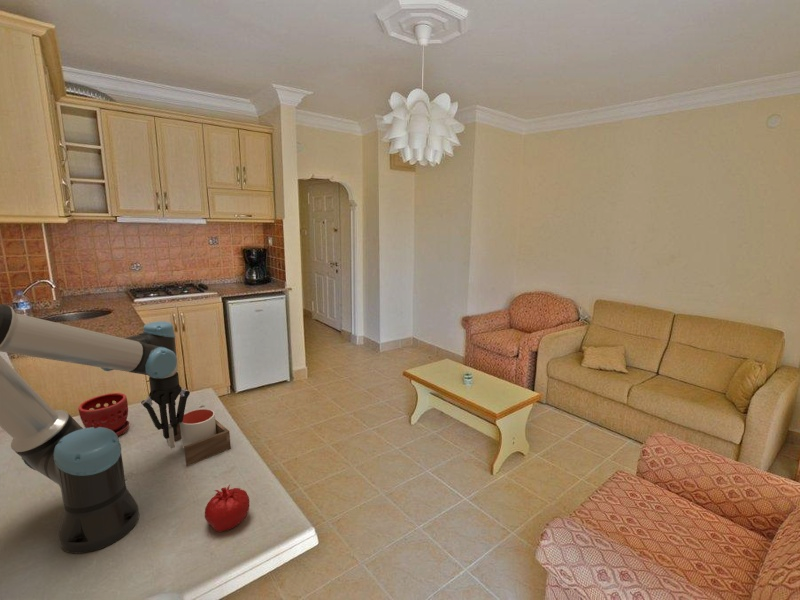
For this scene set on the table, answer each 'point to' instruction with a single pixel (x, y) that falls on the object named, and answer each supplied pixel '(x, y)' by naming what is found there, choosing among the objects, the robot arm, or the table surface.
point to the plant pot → (106, 412)
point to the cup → (197, 426)
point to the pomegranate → (227, 508)
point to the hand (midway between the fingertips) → (171, 446)
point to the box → (206, 444)
